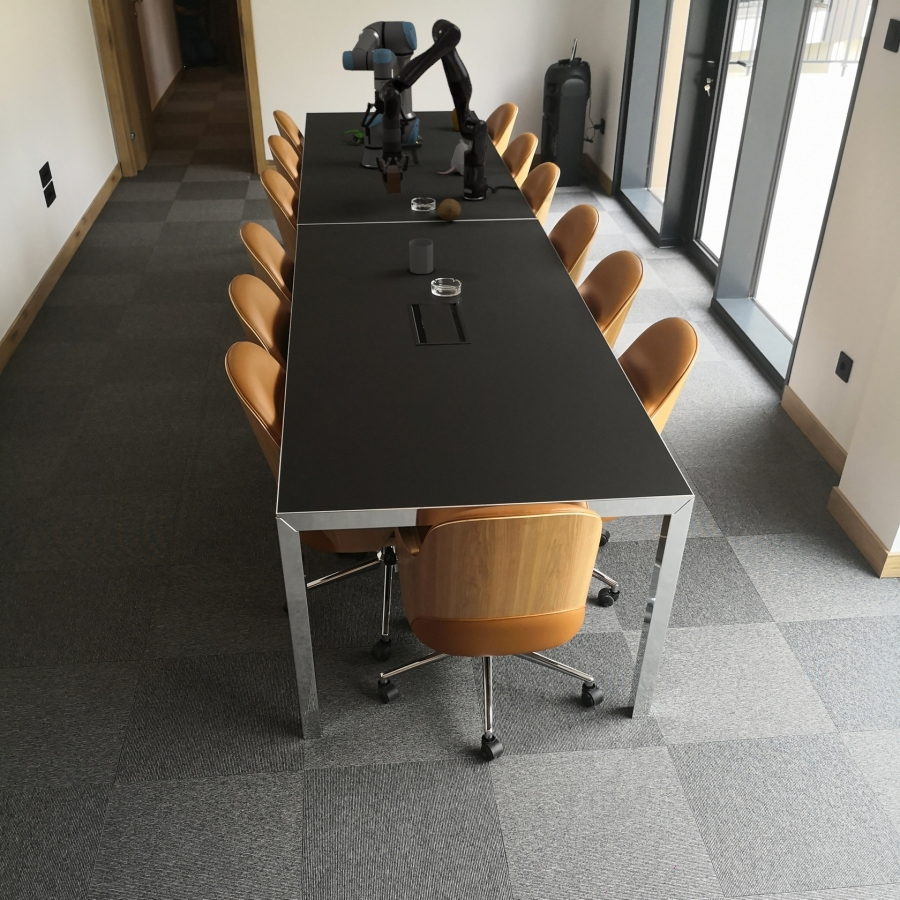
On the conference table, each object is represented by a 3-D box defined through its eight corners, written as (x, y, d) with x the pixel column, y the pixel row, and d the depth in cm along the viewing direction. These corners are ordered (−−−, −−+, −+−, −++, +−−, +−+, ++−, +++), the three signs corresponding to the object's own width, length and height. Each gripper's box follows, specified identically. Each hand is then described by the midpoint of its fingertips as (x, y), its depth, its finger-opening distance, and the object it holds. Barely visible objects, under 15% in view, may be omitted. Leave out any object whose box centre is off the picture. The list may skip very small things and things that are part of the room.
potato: (459, 214, 362) (459, 195, 357) (462, 225, 350) (462, 205, 346) (436, 214, 361) (436, 195, 357) (438, 225, 349) (438, 205, 345)
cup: (409, 265, 311) (408, 238, 306) (432, 265, 312) (431, 238, 307) (410, 274, 304) (409, 246, 299) (433, 273, 305) (433, 246, 299)
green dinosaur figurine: (399, 126, 467) (343, 124, 465) (399, 141, 460) (342, 139, 458) (399, 136, 472) (343, 133, 470) (399, 151, 465) (342, 149, 463)
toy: (478, 172, 417) (478, 139, 409) (444, 182, 402) (444, 148, 394) (464, 168, 422) (464, 136, 414) (430, 178, 407) (430, 145, 399)
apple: (471, 132, 486) (471, 108, 479) (451, 132, 486) (451, 108, 479) (470, 128, 495) (471, 104, 488) (452, 128, 495) (452, 104, 488)
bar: (381, 178, 375) (380, 158, 371) (393, 177, 376) (392, 157, 372) (387, 193, 356) (387, 172, 351) (400, 192, 357) (400, 172, 352)
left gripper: (354, 92, 354) (356, 146, 365) (414, 90, 358) (415, 144, 369) (352, 89, 360) (355, 142, 371) (412, 87, 364) (412, 140, 375)
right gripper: (374, 142, 344) (376, 185, 353) (410, 140, 346) (411, 183, 355) (372, 137, 350) (374, 180, 359) (407, 136, 352) (409, 178, 361)
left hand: (385, 143), depth 370 cm, fingers open, 13 cm apart
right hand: (393, 181), depth 357 cm, fingers closed on bar, 5 cm apart
